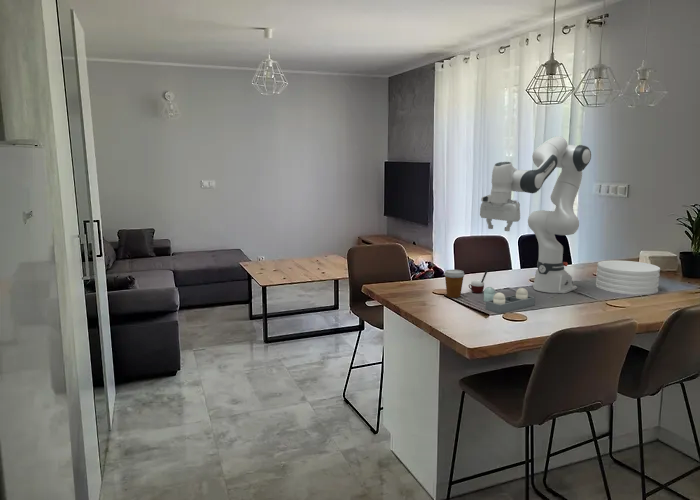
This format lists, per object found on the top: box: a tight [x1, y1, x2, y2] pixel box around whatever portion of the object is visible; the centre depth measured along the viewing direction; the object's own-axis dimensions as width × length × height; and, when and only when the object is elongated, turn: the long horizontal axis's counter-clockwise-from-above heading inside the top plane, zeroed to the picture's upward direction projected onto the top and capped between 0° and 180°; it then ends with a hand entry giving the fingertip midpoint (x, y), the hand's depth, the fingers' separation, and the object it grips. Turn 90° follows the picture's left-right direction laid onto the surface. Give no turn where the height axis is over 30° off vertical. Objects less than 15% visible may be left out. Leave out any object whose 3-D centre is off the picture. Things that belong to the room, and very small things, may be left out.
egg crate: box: [485, 294, 536, 314], centre depth 234 cm, size 22×8×4 cm, turn 123°
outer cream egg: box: [493, 292, 506, 305], centre depth 229 cm, size 5×5×8 cm
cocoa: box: [468, 268, 489, 294], centre depth 262 cm, size 10×6×12 cm, turn 29°
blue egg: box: [483, 286, 496, 303], centre depth 243 cm, size 5×5×8 cm
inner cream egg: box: [515, 287, 529, 300], centre depth 237 cm, size 5×5×8 cm
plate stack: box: [595, 259, 661, 296], centre depth 271 cm, size 28×28×12 cm
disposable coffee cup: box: [443, 269, 465, 299], centre depth 255 cm, size 10×10×12 cm
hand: (498, 230), depth 241 cm, fingers open, 8 cm apart
